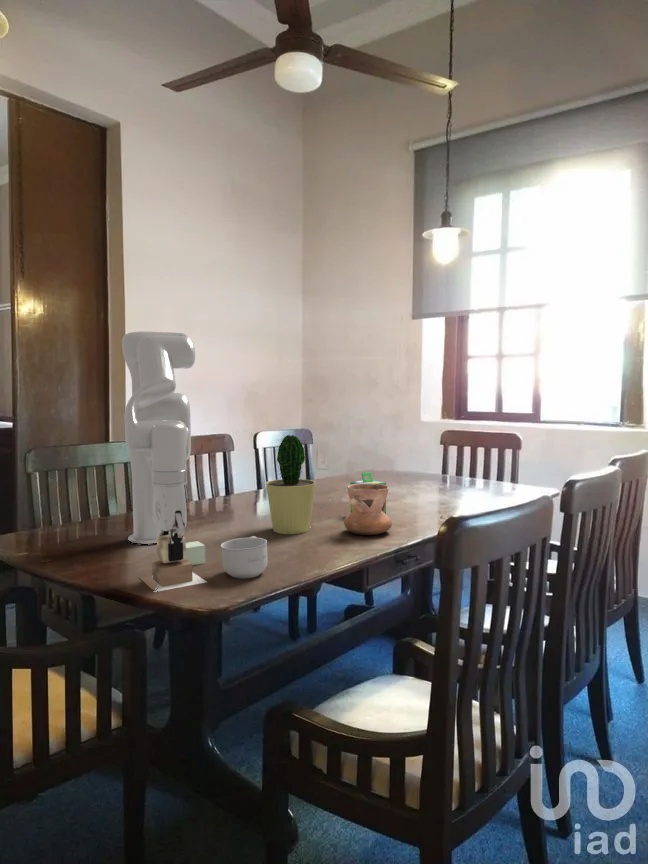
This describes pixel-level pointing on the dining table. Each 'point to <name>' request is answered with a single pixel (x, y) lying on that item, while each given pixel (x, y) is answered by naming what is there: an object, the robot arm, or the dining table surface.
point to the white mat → (195, 579)
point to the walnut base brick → (171, 572)
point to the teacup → (244, 556)
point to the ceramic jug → (368, 509)
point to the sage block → (195, 552)
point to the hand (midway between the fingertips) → (171, 556)
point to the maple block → (163, 548)
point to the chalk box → (367, 482)
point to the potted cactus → (291, 490)
